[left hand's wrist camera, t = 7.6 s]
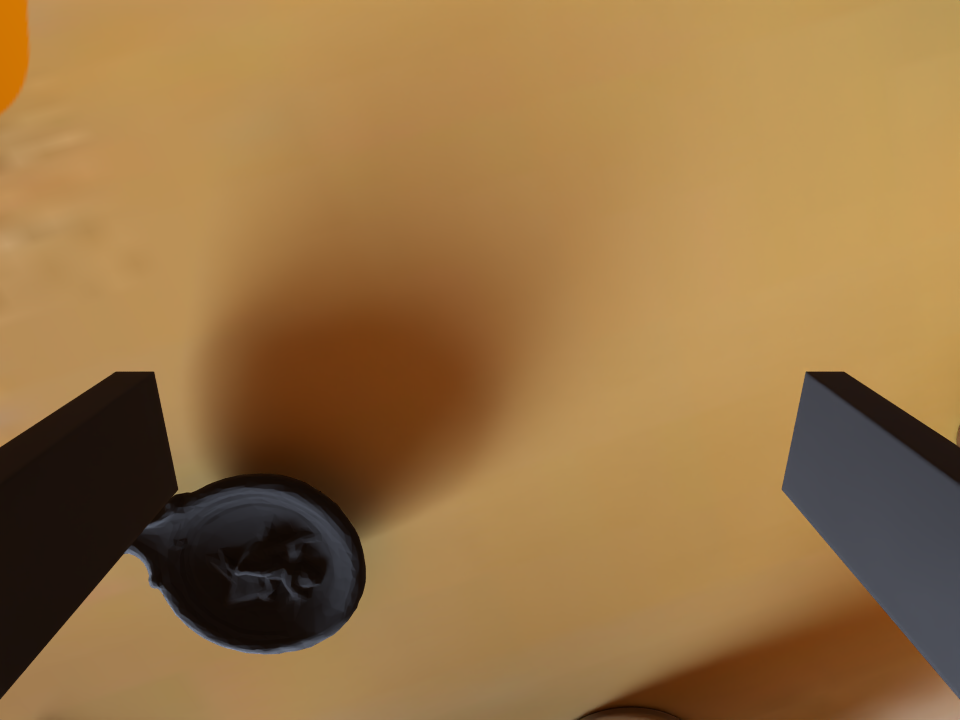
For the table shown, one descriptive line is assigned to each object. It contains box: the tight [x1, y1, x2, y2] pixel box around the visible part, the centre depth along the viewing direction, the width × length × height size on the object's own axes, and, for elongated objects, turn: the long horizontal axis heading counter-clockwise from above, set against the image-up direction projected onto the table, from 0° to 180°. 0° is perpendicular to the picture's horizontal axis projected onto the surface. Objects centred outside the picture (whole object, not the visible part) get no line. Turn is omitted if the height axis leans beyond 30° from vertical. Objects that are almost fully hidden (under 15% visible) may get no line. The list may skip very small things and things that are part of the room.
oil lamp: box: [124, 474, 366, 654], centre depth 44 cm, size 15×20×5 cm
